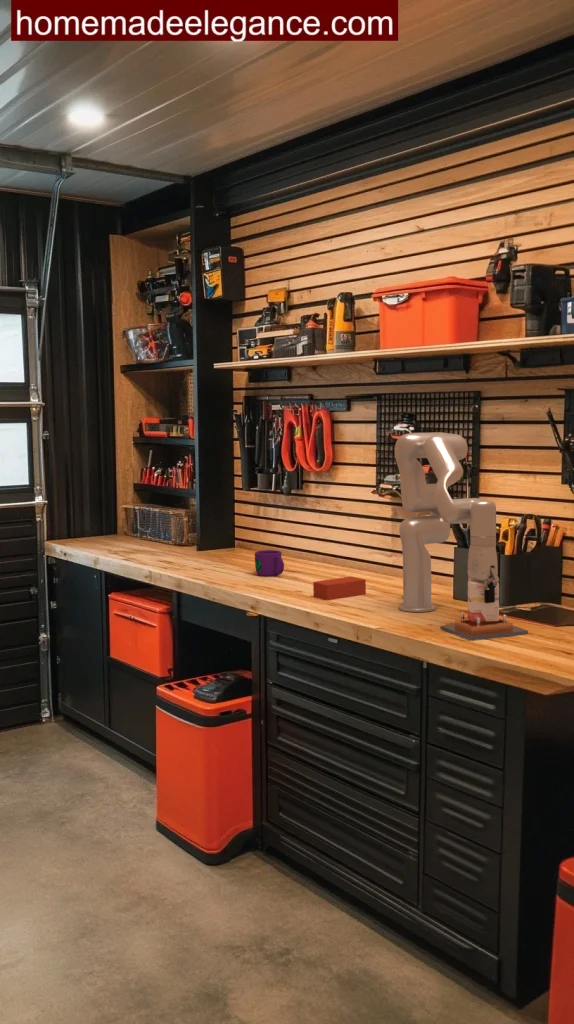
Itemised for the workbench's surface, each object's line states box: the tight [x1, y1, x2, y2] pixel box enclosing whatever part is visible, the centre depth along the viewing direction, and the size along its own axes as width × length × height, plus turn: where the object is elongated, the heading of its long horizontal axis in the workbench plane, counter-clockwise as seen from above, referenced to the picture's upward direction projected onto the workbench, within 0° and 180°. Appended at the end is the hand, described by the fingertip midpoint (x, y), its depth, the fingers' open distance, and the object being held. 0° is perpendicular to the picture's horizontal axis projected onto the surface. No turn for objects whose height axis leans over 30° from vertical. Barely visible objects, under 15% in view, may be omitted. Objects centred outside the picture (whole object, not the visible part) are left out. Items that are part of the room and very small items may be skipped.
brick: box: [312, 576, 367, 601], centre depth 337 cm, size 18×9×6 cm, turn 123°
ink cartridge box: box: [467, 571, 500, 622], centre depth 273 cm, size 9×5×15 cm, turn 92°
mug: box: [254, 549, 285, 577], centre depth 385 cm, size 17×11×10 cm, turn 34°
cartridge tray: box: [439, 611, 529, 641], centre depth 274 cm, size 17×20×6 cm
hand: (483, 600), depth 274 cm, fingers closed on ink cartridge box, 6 cm apart
